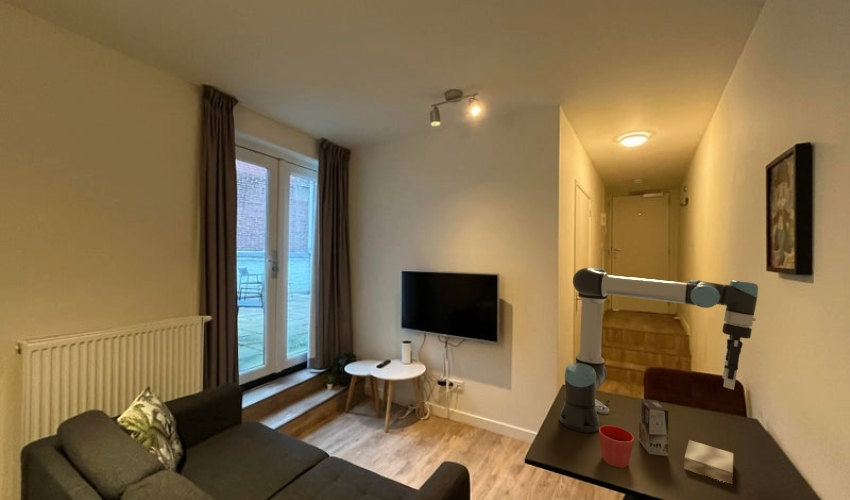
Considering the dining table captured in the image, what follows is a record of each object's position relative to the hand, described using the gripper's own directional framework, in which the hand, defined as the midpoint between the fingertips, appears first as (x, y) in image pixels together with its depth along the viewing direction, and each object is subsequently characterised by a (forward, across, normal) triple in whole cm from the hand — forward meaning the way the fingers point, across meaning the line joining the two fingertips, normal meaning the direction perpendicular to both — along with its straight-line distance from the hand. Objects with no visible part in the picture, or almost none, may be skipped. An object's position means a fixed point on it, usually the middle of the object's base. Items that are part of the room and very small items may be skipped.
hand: (727, 383), depth 124 cm
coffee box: (+29, -10, +18) cm, 35 cm away
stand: (+27, -11, +2) cm, 29 cm away
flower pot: (+31, -28, +26) cm, 49 cm away
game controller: (+30, +15, +40) cm, 52 cm away
